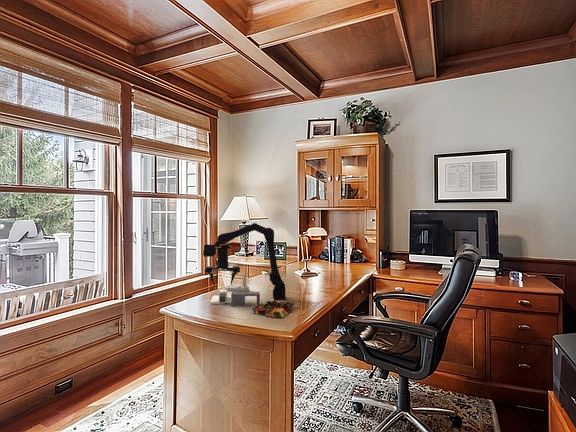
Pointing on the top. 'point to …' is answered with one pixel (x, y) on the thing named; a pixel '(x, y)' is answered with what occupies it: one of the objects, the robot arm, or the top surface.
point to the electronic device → (238, 287)
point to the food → (274, 309)
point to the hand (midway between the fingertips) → (222, 285)
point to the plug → (222, 295)
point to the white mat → (216, 300)
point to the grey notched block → (243, 298)
